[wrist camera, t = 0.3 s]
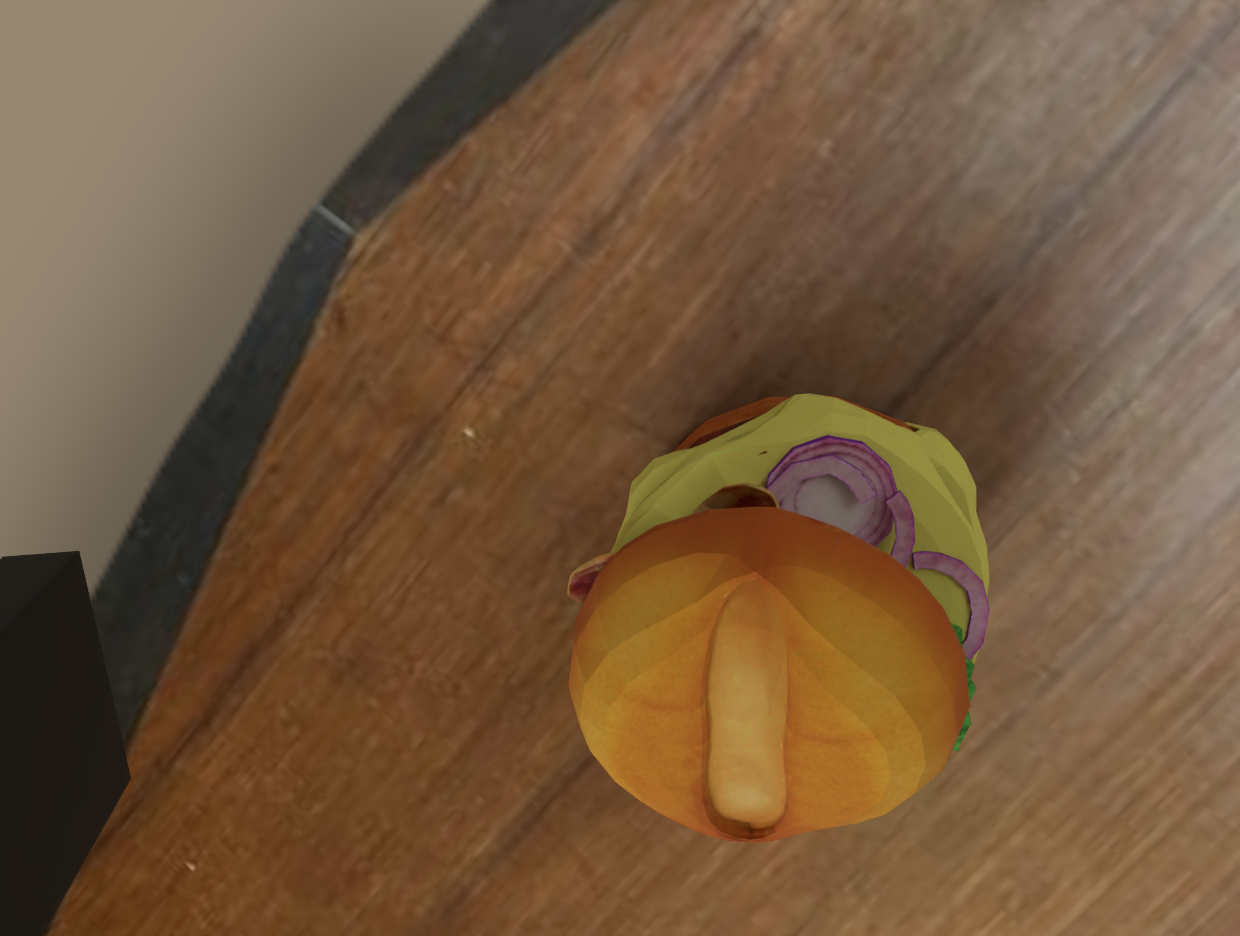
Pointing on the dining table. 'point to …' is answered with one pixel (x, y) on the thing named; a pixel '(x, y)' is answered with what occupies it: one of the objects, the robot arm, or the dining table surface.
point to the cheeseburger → (784, 620)
